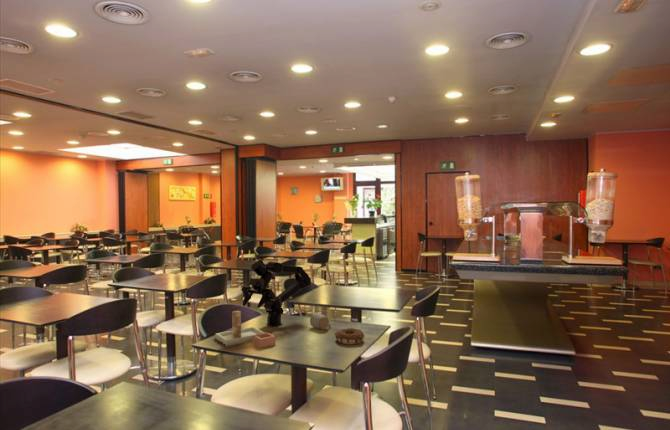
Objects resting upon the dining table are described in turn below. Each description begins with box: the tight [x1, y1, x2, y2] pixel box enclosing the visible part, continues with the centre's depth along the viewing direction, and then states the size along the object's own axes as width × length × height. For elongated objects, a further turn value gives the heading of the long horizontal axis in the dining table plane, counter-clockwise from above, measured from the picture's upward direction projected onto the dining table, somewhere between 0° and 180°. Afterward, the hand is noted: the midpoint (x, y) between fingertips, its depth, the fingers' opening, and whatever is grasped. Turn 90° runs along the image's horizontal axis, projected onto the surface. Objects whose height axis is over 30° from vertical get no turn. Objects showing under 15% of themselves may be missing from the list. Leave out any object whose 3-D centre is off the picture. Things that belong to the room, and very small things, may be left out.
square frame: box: [252, 332, 276, 349], centre depth 195 cm, size 8×8×4 cm
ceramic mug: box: [309, 312, 332, 331], centre depth 223 cm, size 11×8×8 cm
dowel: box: [231, 310, 242, 339], centre depth 202 cm, size 4×4×12 cm
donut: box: [334, 327, 365, 345], centre depth 201 cm, size 14×14×5 cm
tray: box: [215, 326, 266, 347], centre depth 204 cm, size 20×14×2 cm
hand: (250, 306), depth 213 cm, fingers open, 9 cm apart
